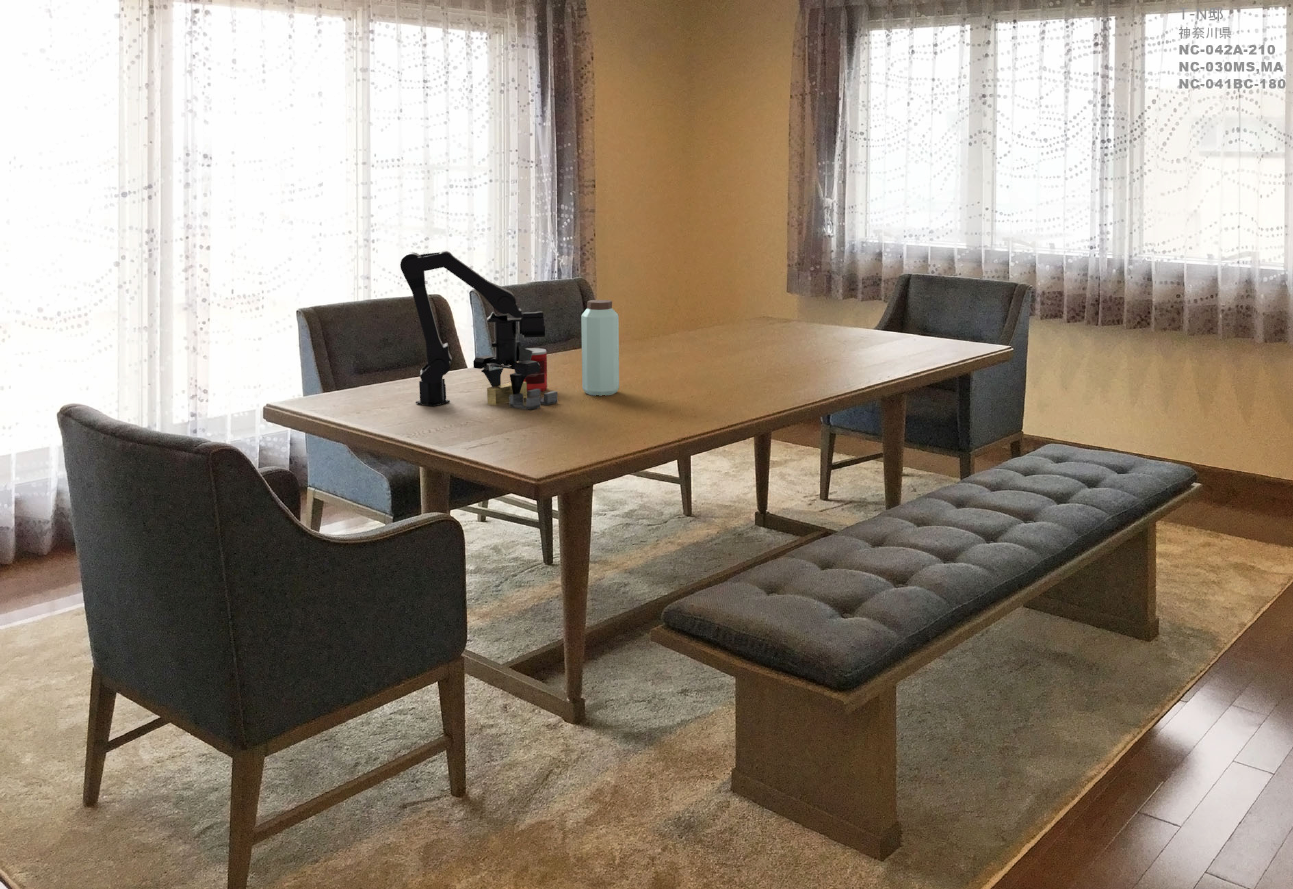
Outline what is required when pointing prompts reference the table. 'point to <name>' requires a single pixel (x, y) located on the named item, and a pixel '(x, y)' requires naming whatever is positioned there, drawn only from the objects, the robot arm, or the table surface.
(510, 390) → the tan rectangular block
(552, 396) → the far chain end
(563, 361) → the table surface
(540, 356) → the canned food
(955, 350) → the table surface
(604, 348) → the water bottle
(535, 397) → the bracket
